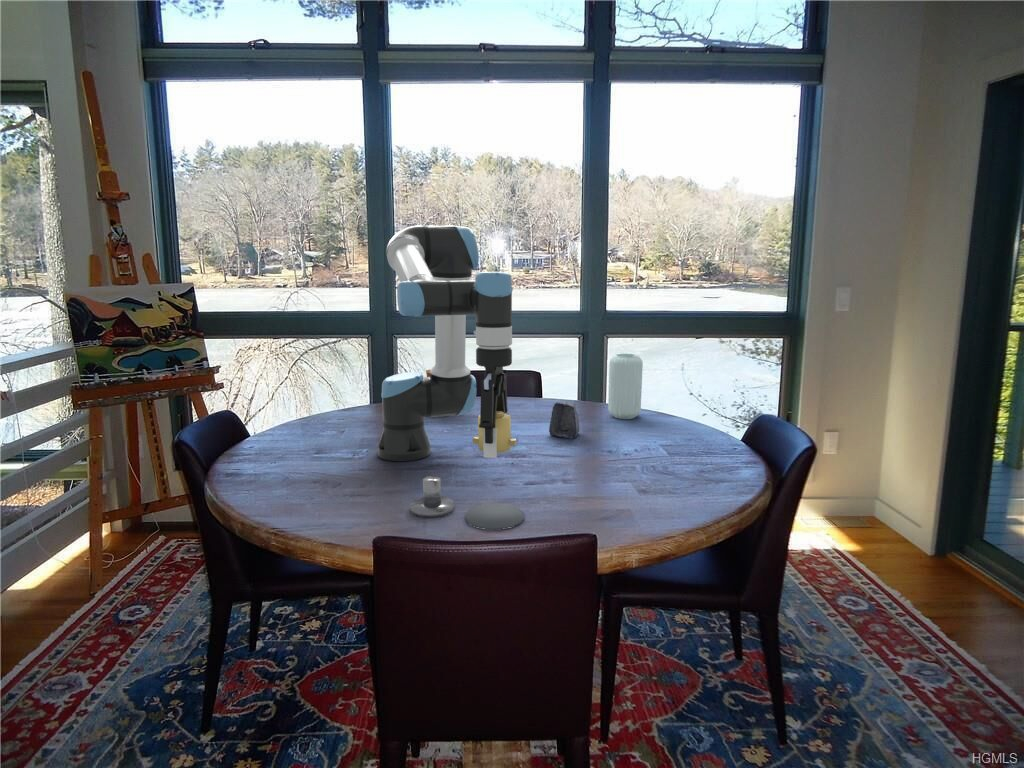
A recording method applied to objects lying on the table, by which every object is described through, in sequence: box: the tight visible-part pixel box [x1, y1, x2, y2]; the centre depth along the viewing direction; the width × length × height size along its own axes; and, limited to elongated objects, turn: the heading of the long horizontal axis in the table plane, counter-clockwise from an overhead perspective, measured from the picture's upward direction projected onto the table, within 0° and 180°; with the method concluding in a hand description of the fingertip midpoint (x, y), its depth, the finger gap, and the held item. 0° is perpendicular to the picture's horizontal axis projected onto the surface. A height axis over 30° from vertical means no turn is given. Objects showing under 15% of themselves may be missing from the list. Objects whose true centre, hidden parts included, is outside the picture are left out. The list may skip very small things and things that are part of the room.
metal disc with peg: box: [409, 475, 455, 519], centre depth 148 cm, size 10×10×7 cm
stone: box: [548, 401, 580, 439], centre depth 209 cm, size 12×10×10 cm
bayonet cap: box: [472, 411, 518, 454], centre depth 140 cm, size 7×9×8 cm
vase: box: [607, 352, 644, 420], centre depth 231 cm, size 12×12×22 cm
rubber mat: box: [464, 502, 525, 530], centre depth 144 cm, size 13×13×1 cm
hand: (494, 451), depth 141 cm, fingers closed on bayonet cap, 7 cm apart
